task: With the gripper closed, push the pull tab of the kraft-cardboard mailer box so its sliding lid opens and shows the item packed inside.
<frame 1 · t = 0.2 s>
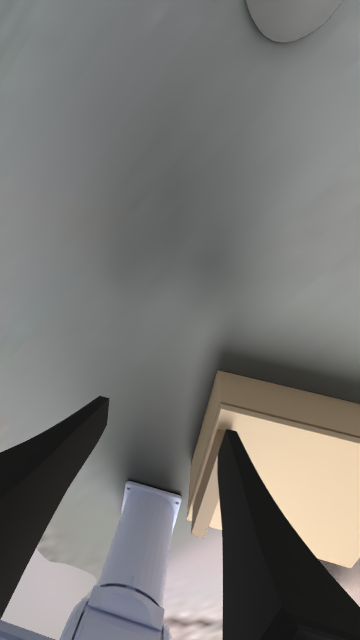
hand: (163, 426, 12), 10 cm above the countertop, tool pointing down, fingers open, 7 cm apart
mailer box: (271, 438, 23), on the countertop
plastic bottle: (289, 2, 13), on the countertop
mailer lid: (295, 505, 17), point 7 cm above the countertop, slide at 0.0 cm
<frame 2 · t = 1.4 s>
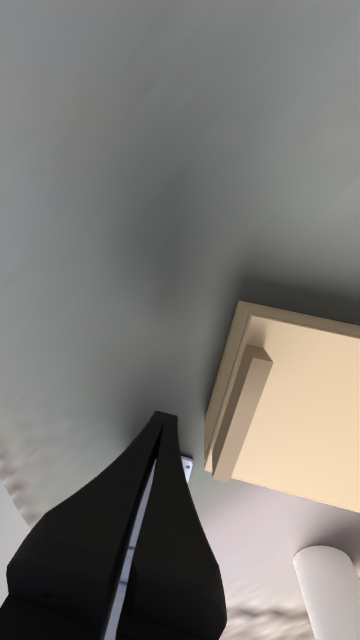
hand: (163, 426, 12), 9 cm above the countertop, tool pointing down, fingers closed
cylindrical container: (321, 561, 27), on the countertop
mailer box: (298, 383, 20), on the countertop
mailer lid: (340, 438, 14), point 7 cm above the countertop, slide at 0.0 cm
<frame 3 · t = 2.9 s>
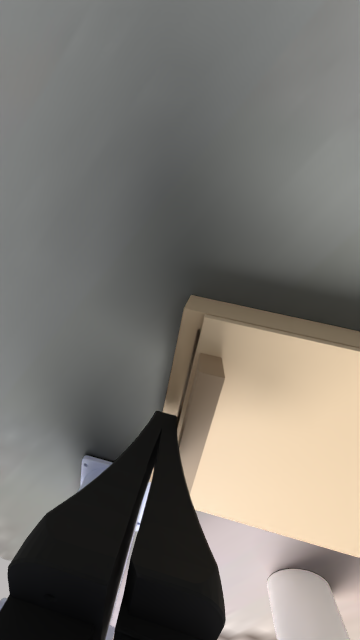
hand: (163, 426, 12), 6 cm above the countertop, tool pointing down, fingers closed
cylindrical container: (297, 585, 24), on the countertop
mailer box: (263, 391, 17), on the countertop
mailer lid: (317, 470, 11), point 7 cm above the countertop, slide at 1.2 cm, touching gripper
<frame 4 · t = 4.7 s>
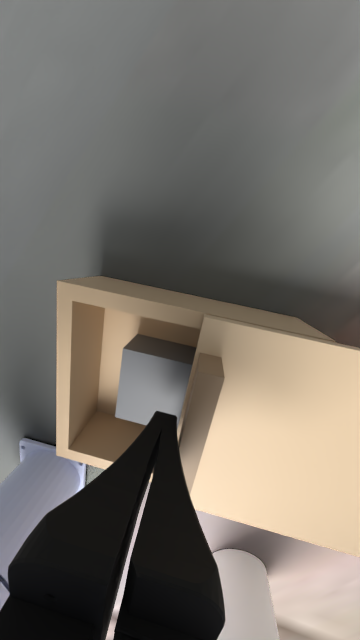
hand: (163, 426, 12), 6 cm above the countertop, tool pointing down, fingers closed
cylindrical container: (235, 565, 25), on the countertop
mailer box: (178, 370, 18), on the countertop
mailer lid: (317, 469, 11), point 7 cm above the countertop, slide at 8.9 cm, touching gripper
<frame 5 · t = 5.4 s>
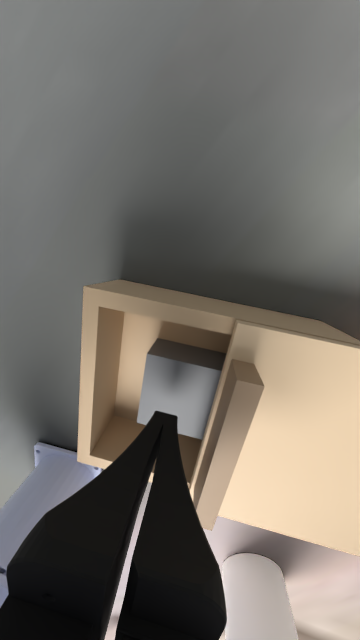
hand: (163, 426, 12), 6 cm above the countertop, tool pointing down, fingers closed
cylindrical container: (251, 569, 24), on the countertop
mailer box: (197, 374, 18), on the countertop
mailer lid: (352, 477, 11), point 7 cm above the countertop, slide at 8.9 cm
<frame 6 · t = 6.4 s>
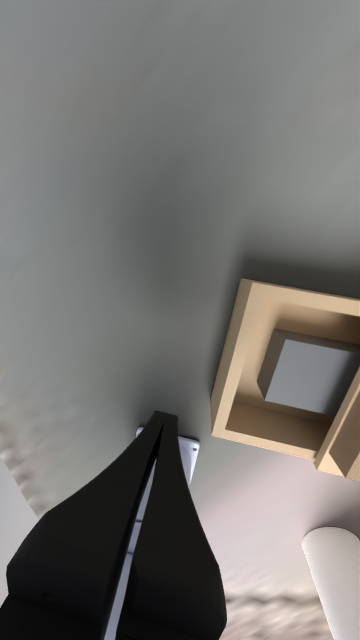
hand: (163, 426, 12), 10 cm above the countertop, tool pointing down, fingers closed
cylindrical container: (329, 543, 27), on the countertop
mailer box: (302, 360, 20), on the countertop
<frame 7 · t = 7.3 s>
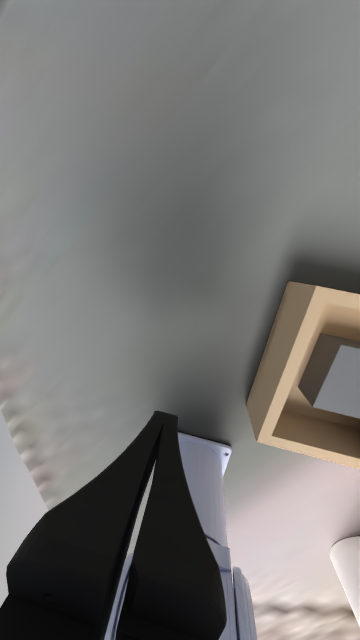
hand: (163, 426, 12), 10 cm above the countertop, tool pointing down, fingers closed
cylindrical container: (358, 553, 26), on the countertop
mailer box: (345, 366, 20), on the countertop
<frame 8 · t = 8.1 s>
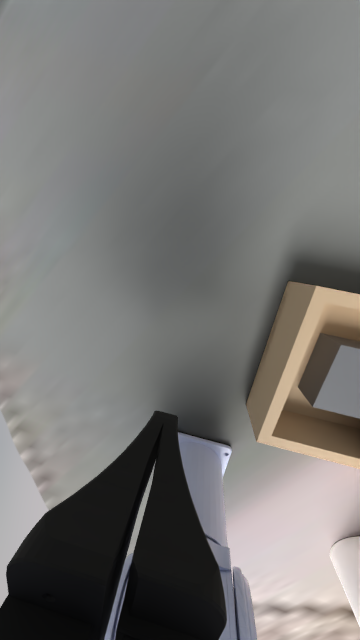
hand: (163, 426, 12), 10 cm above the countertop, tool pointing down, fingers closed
cylindrical container: (358, 553, 26), on the countertop
mailer box: (345, 366, 20), on the countertop
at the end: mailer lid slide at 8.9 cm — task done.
